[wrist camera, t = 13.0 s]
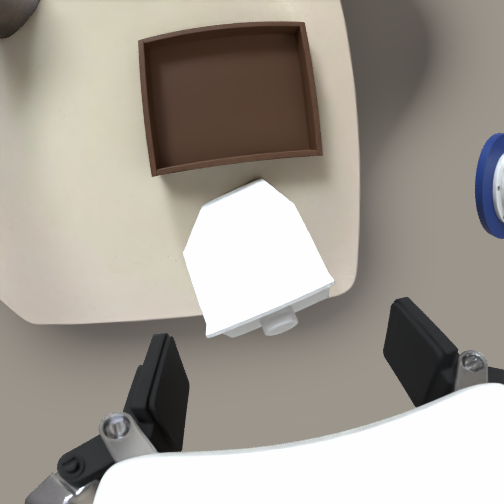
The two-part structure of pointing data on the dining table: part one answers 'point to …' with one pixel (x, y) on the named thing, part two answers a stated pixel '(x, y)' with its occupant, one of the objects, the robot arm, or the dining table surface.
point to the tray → (228, 95)
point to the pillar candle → (14, 15)
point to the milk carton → (253, 262)
